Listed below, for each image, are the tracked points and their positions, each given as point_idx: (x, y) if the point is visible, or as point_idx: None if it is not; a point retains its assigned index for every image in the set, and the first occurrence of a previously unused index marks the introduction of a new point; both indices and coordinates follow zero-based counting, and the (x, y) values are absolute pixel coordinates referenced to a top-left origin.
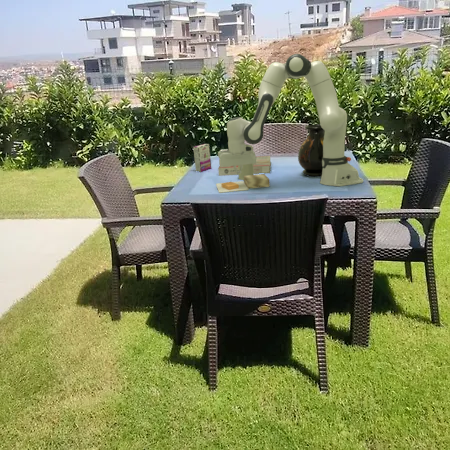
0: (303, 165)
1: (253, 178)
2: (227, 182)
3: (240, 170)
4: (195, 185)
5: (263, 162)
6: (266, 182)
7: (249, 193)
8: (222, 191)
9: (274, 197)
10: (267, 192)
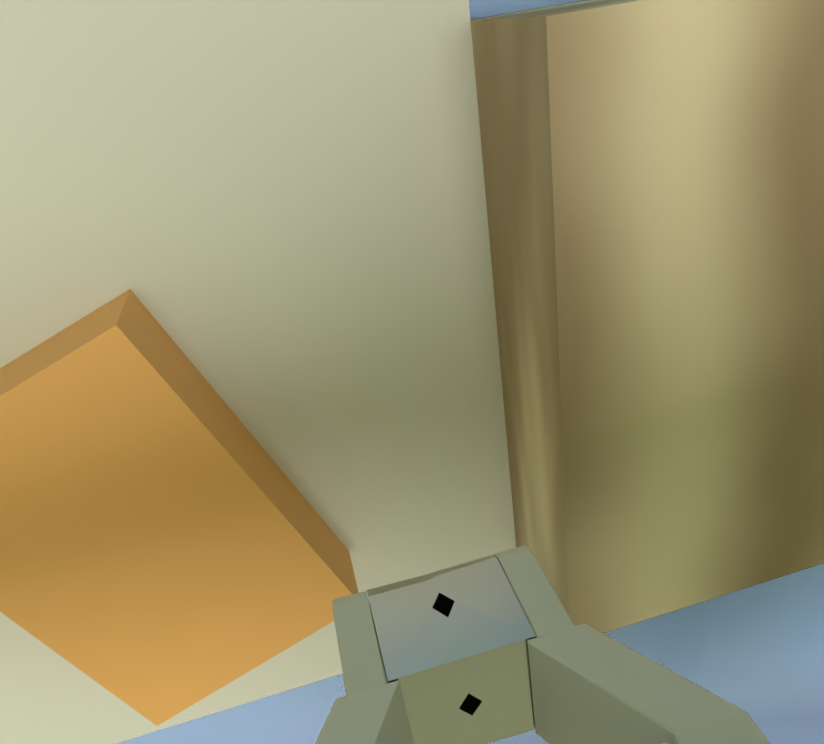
0: None
1: (742, 414)
2: (19, 410)
3: (544, 716)
4: None
5: None
6: None
7: (509, 740)
8: (47, 737)
9: None
10: (727, 691)
